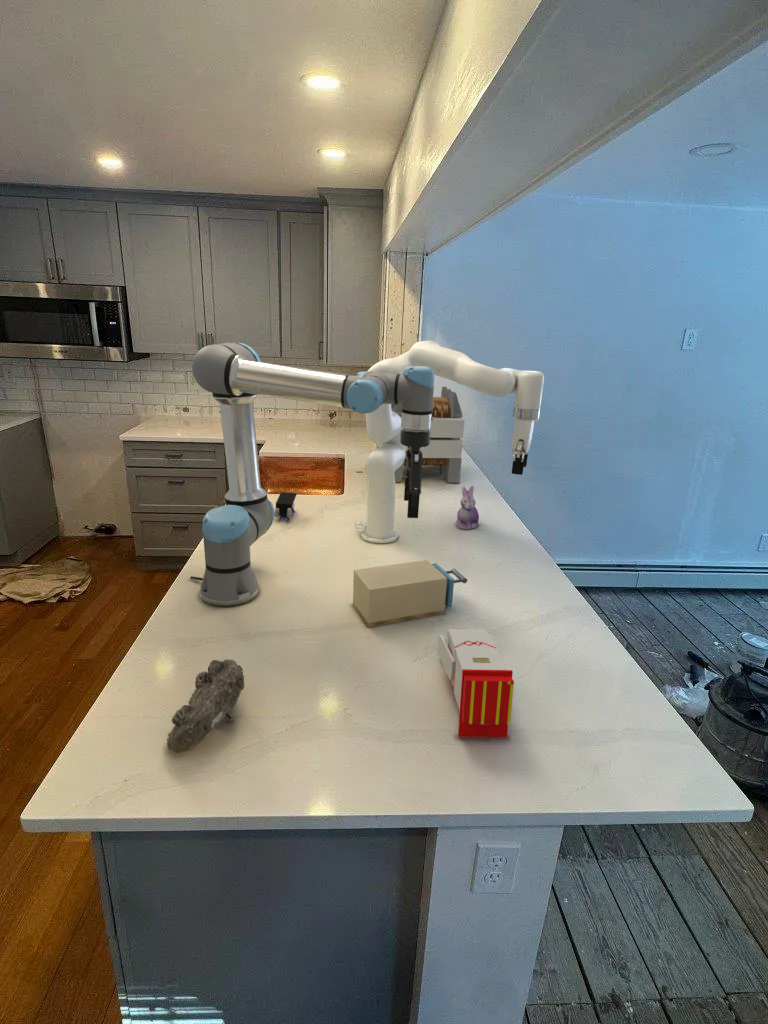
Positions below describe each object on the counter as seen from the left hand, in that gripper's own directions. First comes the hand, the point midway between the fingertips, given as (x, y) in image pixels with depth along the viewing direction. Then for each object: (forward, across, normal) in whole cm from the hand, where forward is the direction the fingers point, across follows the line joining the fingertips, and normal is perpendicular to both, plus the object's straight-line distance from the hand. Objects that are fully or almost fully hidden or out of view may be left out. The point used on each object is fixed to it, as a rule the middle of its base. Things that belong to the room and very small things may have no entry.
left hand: (410, 508), depth 150 cm
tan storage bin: (+25, -10, +2) cm, 27 cm away
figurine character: (+25, +57, +41) cm, 75 cm away
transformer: (+25, +123, -15) cm, 126 cm away
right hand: (-5, +24, -35) cm, 42 cm away
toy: (+25, -43, -11) cm, 51 cm away
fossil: (+25, -52, +40) cm, 71 cm away
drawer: (+24, -7, -3) cm, 25 cm away
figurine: (+25, +54, -26) cm, 65 cm away
